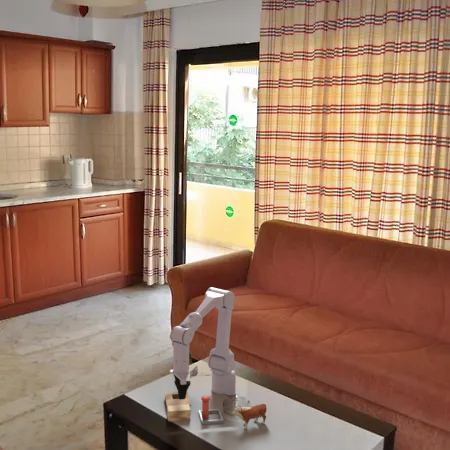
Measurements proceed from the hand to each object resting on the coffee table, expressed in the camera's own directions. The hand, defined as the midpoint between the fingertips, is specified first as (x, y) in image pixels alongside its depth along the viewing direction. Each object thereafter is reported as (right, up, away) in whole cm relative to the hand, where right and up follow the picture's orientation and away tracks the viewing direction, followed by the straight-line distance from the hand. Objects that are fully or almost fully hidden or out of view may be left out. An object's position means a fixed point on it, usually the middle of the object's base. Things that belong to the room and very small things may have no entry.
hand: (180, 393), depth 202 cm
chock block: (-1, -10, +2) cm, 11 cm away
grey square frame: (+11, -10, +2) cm, 15 cm away
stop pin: (+9, -10, +3) cm, 13 cm away
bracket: (+7, -4, +36) cm, 37 cm away
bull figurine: (+25, -12, 0) cm, 28 cm away
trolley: (-2, -8, +11) cm, 14 cm away
